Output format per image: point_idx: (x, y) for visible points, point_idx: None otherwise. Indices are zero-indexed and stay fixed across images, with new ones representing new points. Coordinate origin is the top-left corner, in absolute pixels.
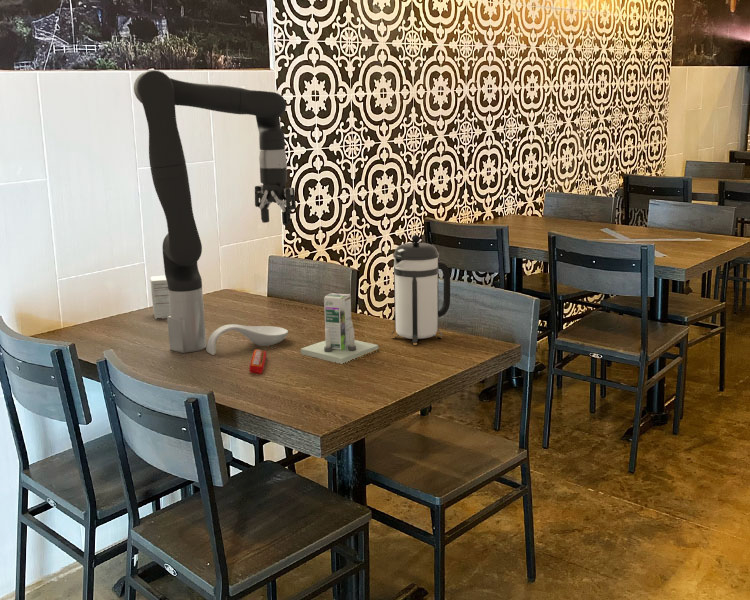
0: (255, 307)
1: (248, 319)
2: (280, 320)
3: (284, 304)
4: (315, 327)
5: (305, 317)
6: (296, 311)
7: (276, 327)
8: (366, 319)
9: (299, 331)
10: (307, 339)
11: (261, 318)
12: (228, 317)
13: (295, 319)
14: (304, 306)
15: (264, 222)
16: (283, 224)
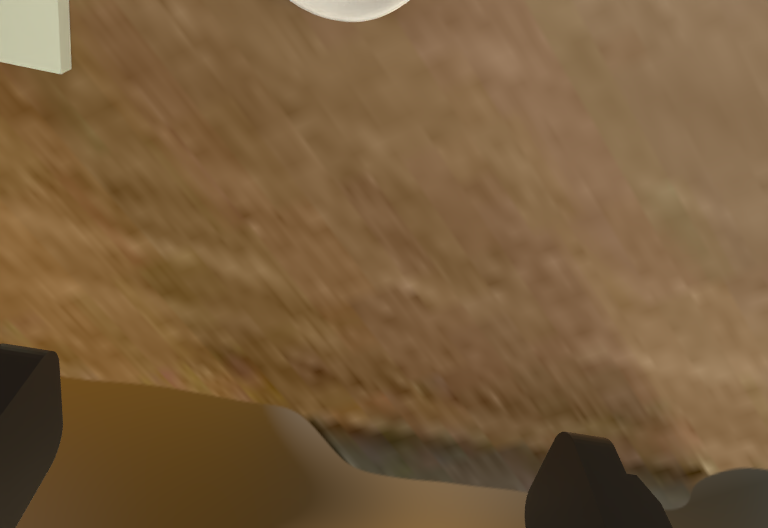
0: (686, 349)
1: (636, 201)
2: (494, 239)
3: (592, 414)
4: (298, 209)
5: (421, 308)
6: (499, 359)
7: (358, 13)
8: (193, 364)
9: (323, 132)
10: (210, 36)
11: (587, 234)
12: (740, 194)
13: (443, 272)
14: (505, 418)
15: (559, 437)
16: (34, 349)
